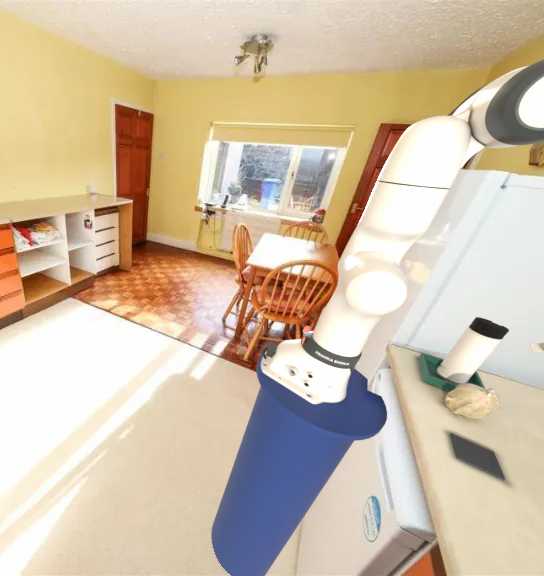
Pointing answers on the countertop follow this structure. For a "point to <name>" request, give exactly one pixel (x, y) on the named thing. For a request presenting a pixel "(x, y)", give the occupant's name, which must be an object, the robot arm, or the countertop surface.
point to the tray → (429, 374)
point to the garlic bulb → (472, 400)
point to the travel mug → (471, 350)
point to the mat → (476, 456)
